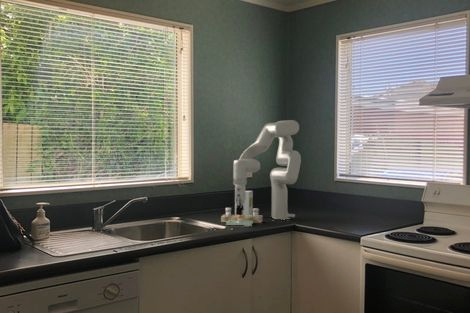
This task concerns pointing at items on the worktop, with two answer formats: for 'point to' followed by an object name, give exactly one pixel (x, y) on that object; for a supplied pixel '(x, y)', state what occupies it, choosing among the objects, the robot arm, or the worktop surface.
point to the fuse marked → (240, 218)
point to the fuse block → (245, 218)
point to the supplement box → (247, 204)
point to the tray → (234, 222)
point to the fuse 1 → (228, 211)
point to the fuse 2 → (255, 212)
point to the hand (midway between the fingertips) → (239, 213)
